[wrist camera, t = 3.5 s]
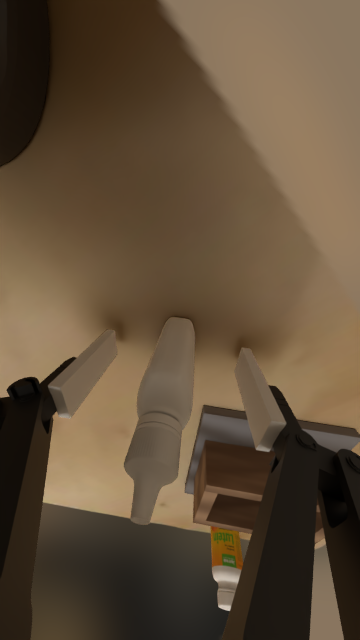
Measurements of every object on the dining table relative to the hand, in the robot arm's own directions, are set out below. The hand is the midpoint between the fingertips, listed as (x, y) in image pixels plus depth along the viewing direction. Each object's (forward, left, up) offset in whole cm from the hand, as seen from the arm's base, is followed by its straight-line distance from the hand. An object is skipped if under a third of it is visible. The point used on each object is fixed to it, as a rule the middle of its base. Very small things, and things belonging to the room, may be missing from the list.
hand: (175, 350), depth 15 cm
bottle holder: (+20, +13, -2) cm, 24 cm away
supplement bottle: (+41, +13, -2) cm, 43 cm away
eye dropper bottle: (0, 0, -2) cm, 2 cm away
